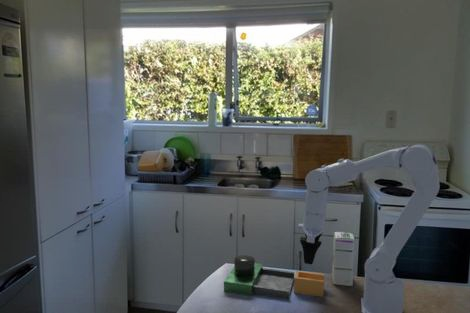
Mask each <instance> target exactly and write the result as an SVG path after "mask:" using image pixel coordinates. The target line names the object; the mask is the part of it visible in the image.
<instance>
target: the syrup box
mask: <svg viewBox="0 0 470 313" xmlns="http://www.w3.org/2000/svg"><path fill="white" fill-rule="evenodd" d="M332 248H333V251H332V254H333V255H332V276H331V277H332V283H333V285H339V286H346V287H347V286H348V287H353V284H354V283H353V279H354V267H355V266H354V263H355V237H354V233H352V232H347V231H334V232H333V247H332Z"/></svg>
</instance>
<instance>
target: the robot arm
mask: <svg viewBox="0 0 470 313" xmlns="http://www.w3.org/2000/svg"><path fill="white" fill-rule="evenodd" d="M438 166H439V165H438V159H437V157H436V155H435V153H434V152H433V150H432V148H430V146H428V145H426V144H424V143H416V144H412V145H411V146H410V147H409V146H408V145H407V146H402V147H396V148H393V149H389V150H386V151H383V152H380V153H378V154H377V153H376V154H375V155H371V156H369V157H366V158H363V159H360V160H358V161H353V160H351V159H349V158H347V159H344V158H343V157H342V158H340V159H338V160H337V162H335V163H331V164H329V165H327V164H324V165H321V167H320V168H319V167H318V168H316V169H312V170H311V171H309V172H308V173H307V174H306V176H305V178H304V182H305V186H306V187H307V188H306V194H305V203H304V211H303V219H302V223H298V224H297V225H298V228H299V229H301V230H303V233H304V234H305V236H304V237H303V236H300V238H299V242H300V245H301V248H302V252H303V262H304V264H306V265H311V266H312V265H313V263H314V261H315V257H316V255H317V251H318V250H319V248H320V247H321V245H322V241H320V238H321V237H322V235H323V234H324V232H325V219H326V211H327V204H328V195H329V194H328V193H329V187H337V186H339V185H343V184H346V183H349V182H353V181H355V180H356V179H357V178H358V175H359V174H362V173H365V172H369V171H373V170H377V169H380V168H385V167H391V168H394V169H401V168H403V170H405V171H406V173H407V174H408V175H409V176H410V177H411V179H412V182H413V185H414V187H415V190H414V192H412V194H411V196H410V198H409V199H408V200H407V203H406V204H405V206H404V208H403V209H402V211H401V212H400V214H399V215H398V217H397V219H396V220H395V222H394V223H393V225H392V227H391V229H389V231H388V233H387V235H386V236H385V237H384V239H383V241H382V243H381V244H380V245H378V246H377V247H375V248H373V249H372V252H371V254H370V255H369V258H367V260H366V261H365V263H364V265H363V266H364V267H363V268H364V284H363V285H364V286H363V297H361V298H360V306H361V313H403V308H404V296H405V287H404V280H403V279H402V278H399V277H398V278H397V277H396V276H395V274H394V271H393V268H394V267H395V265H396V263H397V258H398V256H399V254H400V252H401V251H402V250H403V247H404V246H405V245H406V243H407V242H408V240H409V238H410V237H411V236H412V234H413V232H414V230H415V229H416V228H417V226H418V225H419V223H420V221H421V220H422V219H423V217H424V215H425V214H426V212H427V211H428V209H429V208H430V207H431V204H432V203H433V201H434V200H435V198H436V197H437V195H438V194H439V191H440V186H441V185H440V177H439V176H440V175H439V167H438Z"/></svg>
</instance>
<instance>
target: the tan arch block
mask: <svg viewBox="0 0 470 313" xmlns="http://www.w3.org/2000/svg"><path fill="white" fill-rule="evenodd" d="M324 289H325V273H319V272H311V271H303V270H302V271H301V270H296V272H295V274H294V281H293V293H295V294H301V295H309V296H315V297H321V298H323V297H324Z"/></svg>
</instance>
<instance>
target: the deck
mask: <svg viewBox="0 0 470 313" xmlns="http://www.w3.org/2000/svg"><path fill="white" fill-rule="evenodd" d="M233 262H234V266H233V267H232V268H231V271H229V274H228V275H227V277H226V278H225V279H224V281H223V292H226V293H231V294H232V293H233V294H237V295H242V296H243V295H245V296H250V297H251V296H252V295H253V294H255V295H256V294H257V295H261V296H269V297H275V298H283V299H287V300H289V298H290V296H291V295H290V294H291V291H292V289H293V288H292V287H293V285H294V278H295V274H296V272H295V271H290V270H282V269H273V268H265V267H264V266H263V263H258V262H257V263H256V258H254V257H253V256H251V255H238V256H236V257H234V261H233Z"/></svg>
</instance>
